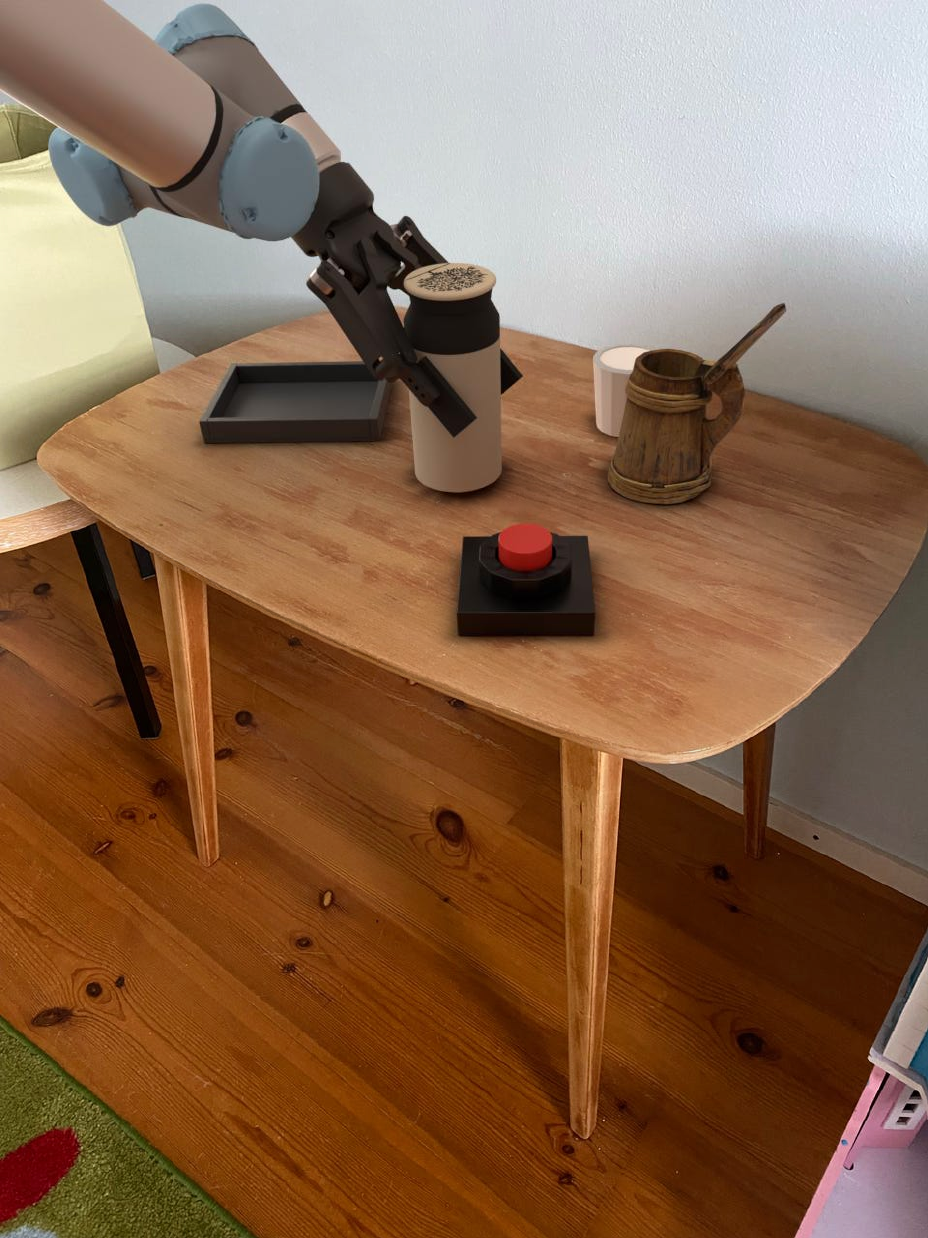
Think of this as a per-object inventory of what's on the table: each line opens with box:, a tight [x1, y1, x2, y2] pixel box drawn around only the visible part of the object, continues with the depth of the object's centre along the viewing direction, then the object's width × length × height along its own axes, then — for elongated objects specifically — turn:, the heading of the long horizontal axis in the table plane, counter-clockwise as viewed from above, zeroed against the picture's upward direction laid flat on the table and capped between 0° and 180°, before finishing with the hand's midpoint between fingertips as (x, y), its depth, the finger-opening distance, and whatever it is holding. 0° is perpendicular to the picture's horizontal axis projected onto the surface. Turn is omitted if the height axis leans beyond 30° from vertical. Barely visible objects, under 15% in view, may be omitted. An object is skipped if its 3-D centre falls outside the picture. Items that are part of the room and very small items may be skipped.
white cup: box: [592, 343, 657, 438], centre depth 96 cm, size 7×7×7 cm
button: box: [499, 523, 552, 571], centre depth 74 cm, size 4×4×2 cm
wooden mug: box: [607, 302, 787, 505], centre depth 82 cm, size 9×14×18 cm, turn 54°
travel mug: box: [403, 262, 503, 493], centre depth 85 cm, size 8×8×18 cm
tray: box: [198, 360, 394, 444], centre depth 102 cm, size 18×14×2 cm
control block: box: [456, 531, 596, 637], centre depth 75 cm, size 10×10×4 cm
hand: (489, 405), depth 85 cm, fingers closed on travel mug, 8 cm apart
